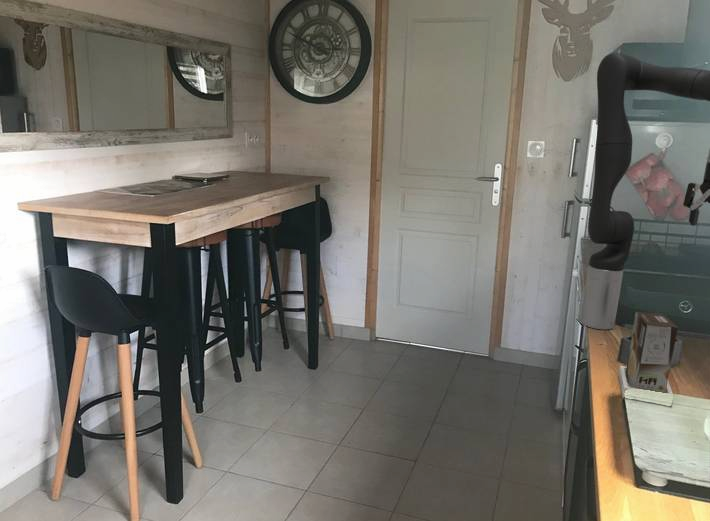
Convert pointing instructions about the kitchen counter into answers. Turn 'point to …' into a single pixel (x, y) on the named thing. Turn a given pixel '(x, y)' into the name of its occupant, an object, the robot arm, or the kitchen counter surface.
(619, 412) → the kitchen counter surface
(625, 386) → the tray
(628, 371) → the coffee box
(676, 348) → the sleeve
